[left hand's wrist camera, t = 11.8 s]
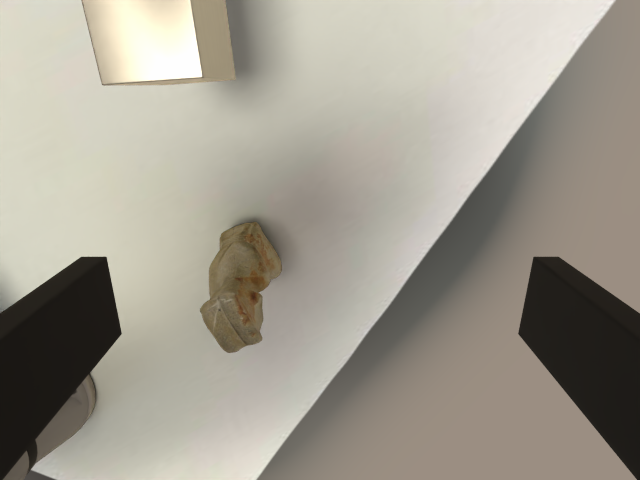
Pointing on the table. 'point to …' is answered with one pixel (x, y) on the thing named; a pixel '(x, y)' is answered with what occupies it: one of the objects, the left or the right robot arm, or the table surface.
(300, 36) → the table surface
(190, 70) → the bar
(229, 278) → the sculpture
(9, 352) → the left robot arm
